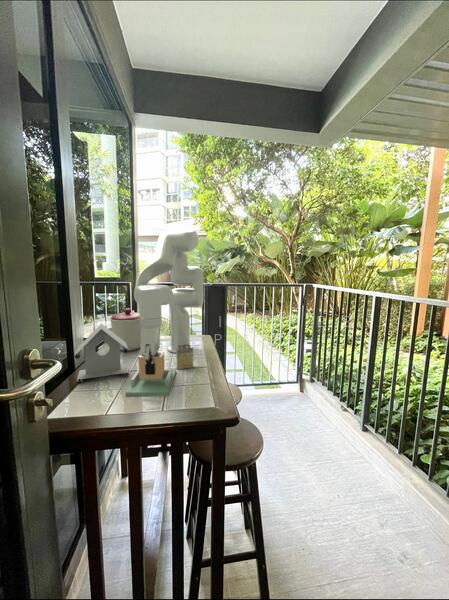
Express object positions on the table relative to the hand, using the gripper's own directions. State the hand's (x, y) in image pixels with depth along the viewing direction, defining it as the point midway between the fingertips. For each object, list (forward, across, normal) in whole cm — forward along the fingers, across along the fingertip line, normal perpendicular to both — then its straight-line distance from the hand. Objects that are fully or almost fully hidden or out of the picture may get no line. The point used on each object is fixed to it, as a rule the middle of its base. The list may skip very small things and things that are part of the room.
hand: (152, 370), depth 99 cm
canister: (+6, -44, -22) cm, 49 cm away
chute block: (+2, 0, 0) cm, 2 cm away
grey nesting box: (+6, -8, -21) cm, 23 cm away
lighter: (+6, -16, +10) cm, 20 cm away
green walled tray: (+5, -2, 0) cm, 6 cm away
